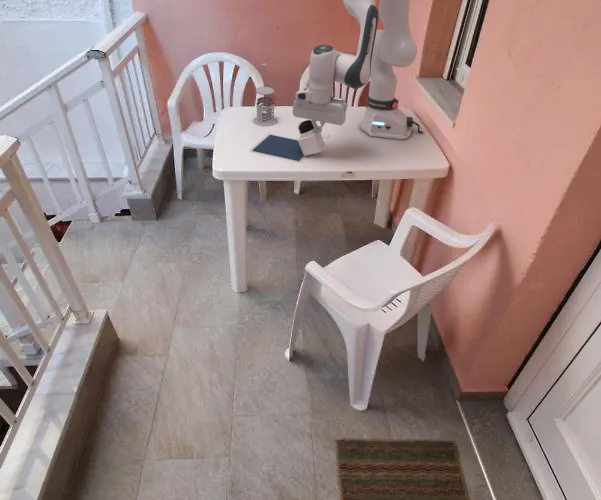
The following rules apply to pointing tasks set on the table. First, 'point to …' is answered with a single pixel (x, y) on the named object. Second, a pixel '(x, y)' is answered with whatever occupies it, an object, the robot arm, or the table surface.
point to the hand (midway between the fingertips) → (317, 131)
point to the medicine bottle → (309, 138)
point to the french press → (261, 116)
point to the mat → (280, 147)
